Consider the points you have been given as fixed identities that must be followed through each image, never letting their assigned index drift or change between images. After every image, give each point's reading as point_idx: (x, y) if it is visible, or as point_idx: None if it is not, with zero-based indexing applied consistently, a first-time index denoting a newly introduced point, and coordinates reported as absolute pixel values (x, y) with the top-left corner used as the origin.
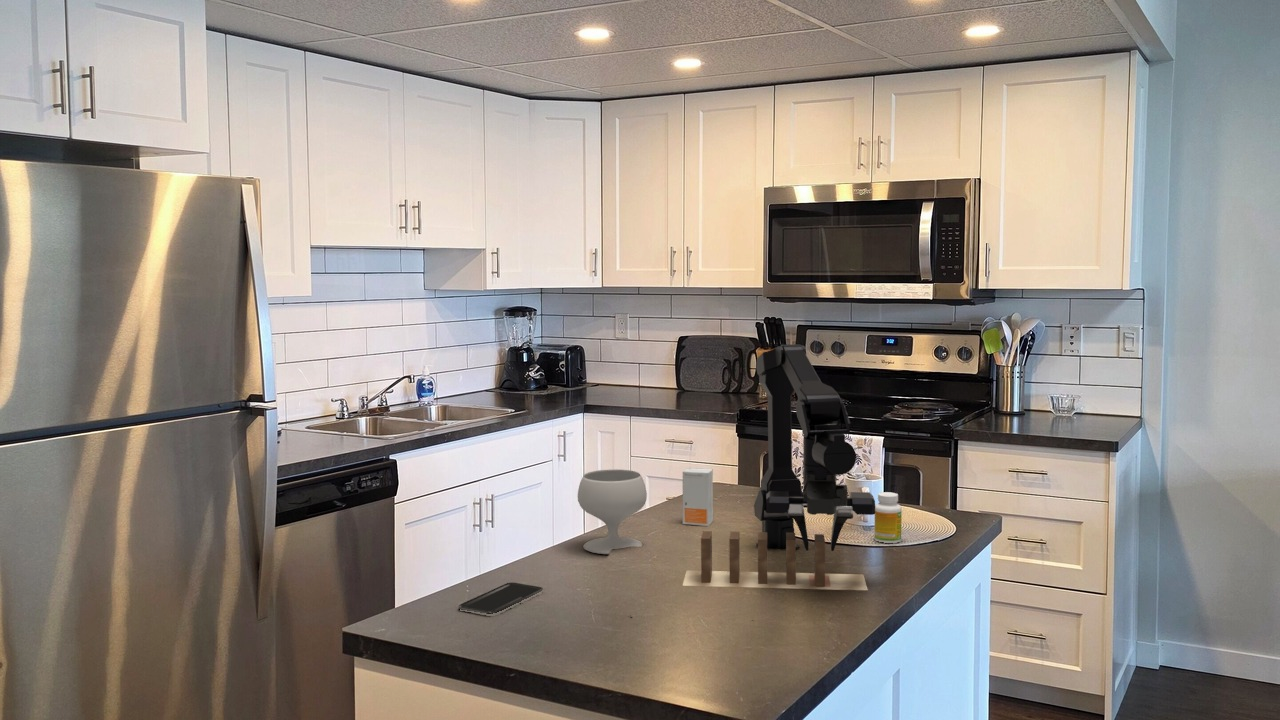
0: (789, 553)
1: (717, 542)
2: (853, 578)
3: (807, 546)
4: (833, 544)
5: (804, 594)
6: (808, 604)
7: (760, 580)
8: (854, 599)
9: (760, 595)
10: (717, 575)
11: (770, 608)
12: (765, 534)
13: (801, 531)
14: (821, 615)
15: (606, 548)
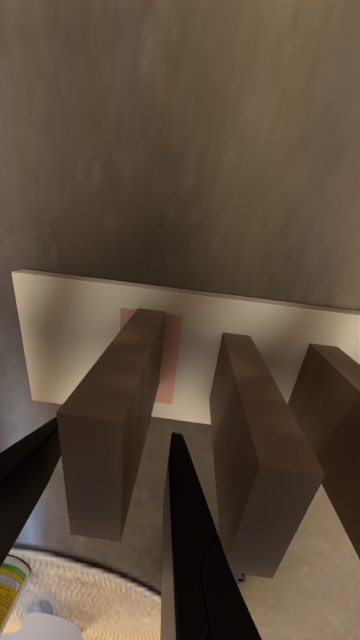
0: (273, 402)
1: (311, 594)
2: (55, 372)
3: (174, 446)
4: (34, 438)
5: (202, 290)
6: (207, 188)
7: (335, 351)
8: (60, 238)
9: (338, 287)
10: None
11: (353, 141)
12: None
13: (214, 554)
14: (181, 40)
15: None
